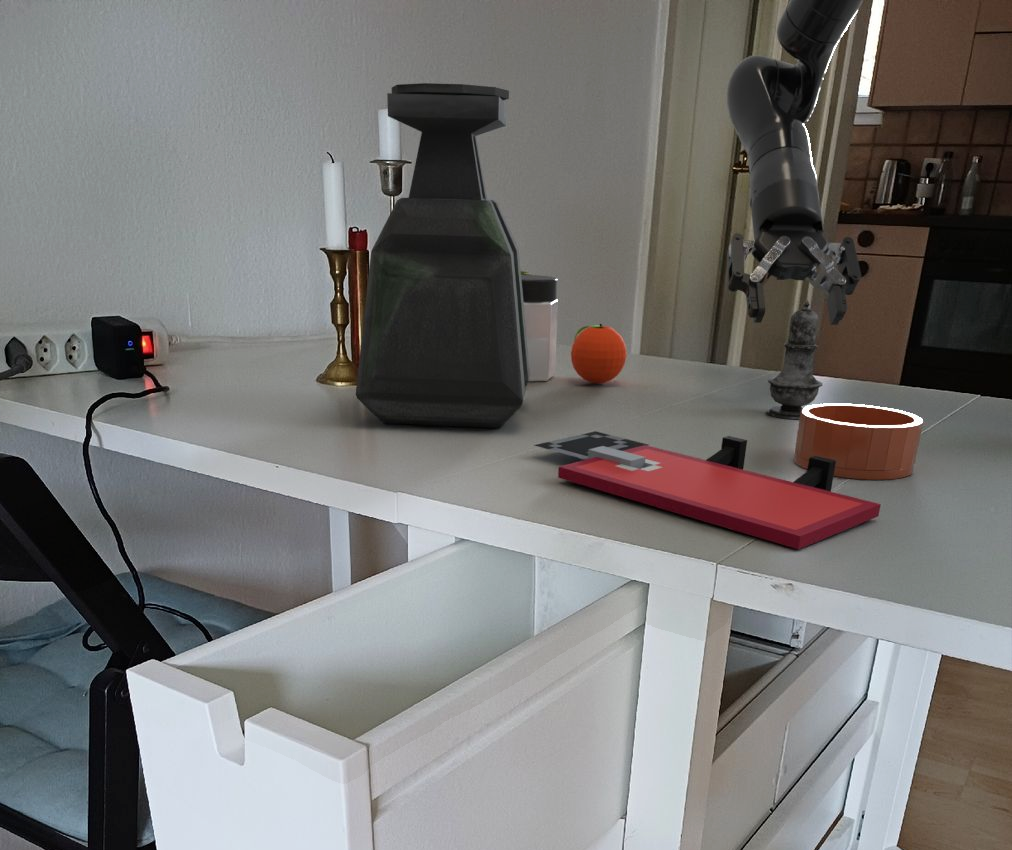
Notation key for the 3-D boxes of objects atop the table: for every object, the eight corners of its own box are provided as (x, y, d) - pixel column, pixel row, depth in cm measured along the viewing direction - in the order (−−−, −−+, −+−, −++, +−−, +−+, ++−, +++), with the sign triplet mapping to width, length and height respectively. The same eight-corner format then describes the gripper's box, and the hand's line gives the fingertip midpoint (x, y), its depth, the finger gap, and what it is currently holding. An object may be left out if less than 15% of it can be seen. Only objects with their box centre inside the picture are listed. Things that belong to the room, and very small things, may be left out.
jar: (474, 375, 130) (475, 275, 125) (517, 369, 136) (520, 273, 131) (526, 384, 125) (529, 281, 120) (568, 378, 130) (573, 278, 125)
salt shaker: (753, 410, 114) (768, 297, 109) (796, 408, 116) (813, 297, 111) (783, 421, 109) (800, 303, 104) (828, 418, 111) (847, 303, 106)
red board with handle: (607, 438, 98) (495, 464, 88) (609, 408, 96) (495, 432, 87) (900, 512, 79) (797, 555, 69) (907, 476, 77) (803, 516, 68)
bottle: (521, 435, 99) (533, 82, 86) (355, 428, 100) (342, 77, 87) (529, 401, 115) (540, 99, 102) (386, 395, 116) (379, 95, 103)
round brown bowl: (886, 452, 97) (896, 405, 95) (931, 481, 88) (942, 428, 86) (779, 450, 96) (786, 402, 95) (813, 478, 87) (822, 426, 85)
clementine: (552, 380, 129) (554, 321, 126) (589, 375, 133) (593, 318, 130) (598, 389, 123) (602, 328, 120) (635, 384, 128) (640, 325, 125)
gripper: (731, 174, 112) (743, 293, 107) (857, 178, 113) (876, 297, 107) (715, 225, 119) (725, 339, 114) (834, 228, 120) (850, 343, 114)
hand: (798, 319), depth 111 cm, fingers open, 8 cm apart
